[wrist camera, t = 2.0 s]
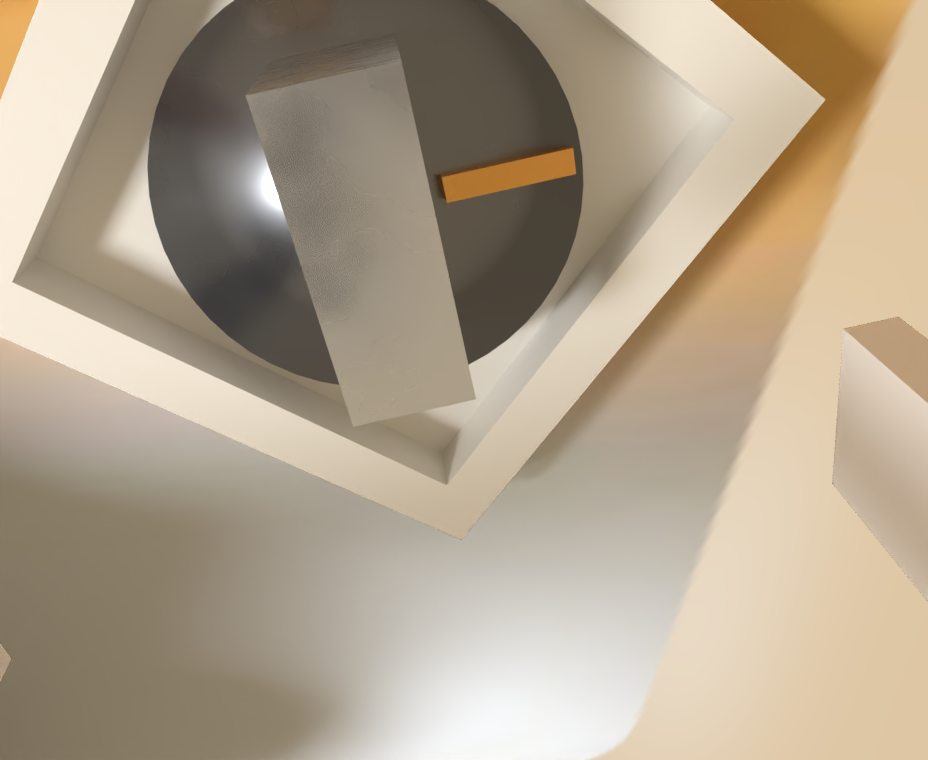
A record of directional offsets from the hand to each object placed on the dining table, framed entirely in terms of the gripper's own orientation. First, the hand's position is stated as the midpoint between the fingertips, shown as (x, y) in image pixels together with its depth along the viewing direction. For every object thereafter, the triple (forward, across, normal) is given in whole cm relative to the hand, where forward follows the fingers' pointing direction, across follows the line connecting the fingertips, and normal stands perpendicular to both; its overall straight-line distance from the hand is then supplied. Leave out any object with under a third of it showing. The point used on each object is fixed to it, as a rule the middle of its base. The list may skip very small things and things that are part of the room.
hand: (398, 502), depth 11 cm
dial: (+16, 0, 0) cm, 16 cm away
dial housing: (+18, 0, 0) cm, 18 cm away
